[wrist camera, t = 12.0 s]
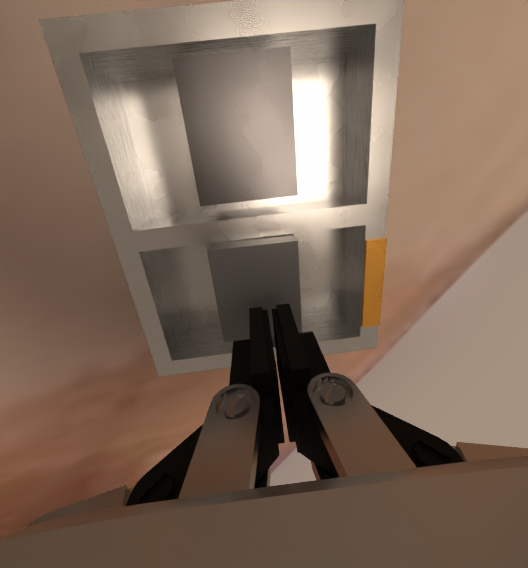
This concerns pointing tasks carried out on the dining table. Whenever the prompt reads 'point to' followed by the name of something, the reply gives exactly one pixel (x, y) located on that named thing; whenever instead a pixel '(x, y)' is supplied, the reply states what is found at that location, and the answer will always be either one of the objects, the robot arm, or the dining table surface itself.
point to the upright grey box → (254, 280)
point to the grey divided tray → (238, 154)
